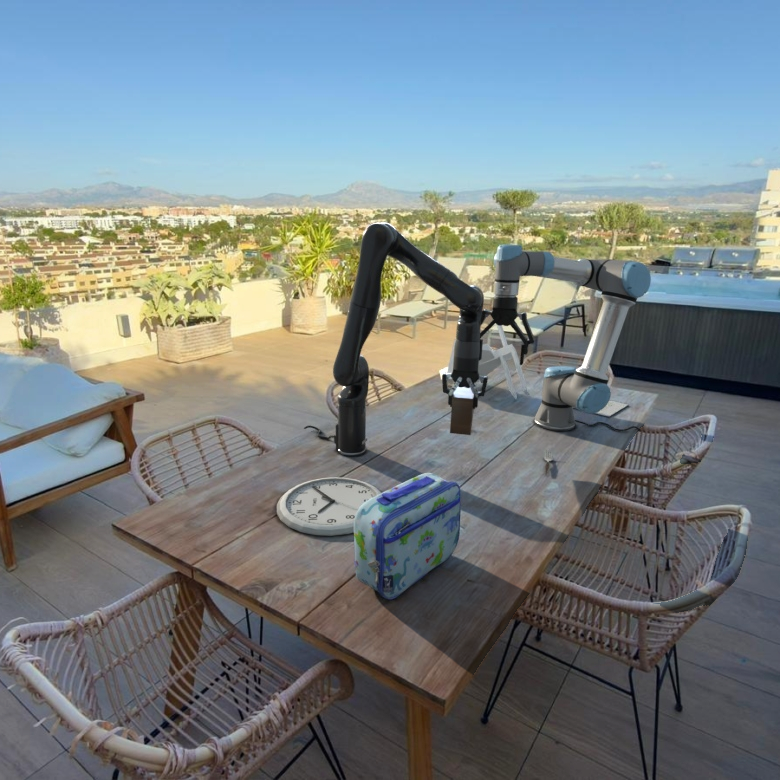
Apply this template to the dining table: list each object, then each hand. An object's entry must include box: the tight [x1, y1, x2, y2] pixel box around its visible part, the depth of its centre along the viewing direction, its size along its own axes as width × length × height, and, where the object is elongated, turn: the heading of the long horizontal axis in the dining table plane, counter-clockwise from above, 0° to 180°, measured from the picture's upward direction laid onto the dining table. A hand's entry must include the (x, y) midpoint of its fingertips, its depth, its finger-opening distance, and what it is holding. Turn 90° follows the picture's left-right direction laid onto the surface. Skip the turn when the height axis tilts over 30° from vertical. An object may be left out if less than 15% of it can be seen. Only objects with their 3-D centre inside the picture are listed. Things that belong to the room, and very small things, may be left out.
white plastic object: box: [438, 323, 531, 400], centre depth 245 cm, size 37×45×31 cm
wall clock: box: [276, 476, 383, 537], centre depth 142 cm, size 30×2×30 cm
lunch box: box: [353, 472, 462, 600], centre depth 112 cm, size 26×11×21 cm, turn 134°
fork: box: [544, 449, 554, 474], centre depth 169 cm, size 3×16×2 cm, turn 160°
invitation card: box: [575, 400, 629, 418], centre depth 226 cm, size 21×1×15 cm
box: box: [449, 383, 477, 436], centre depth 170 cm, size 28×6×12 cm, turn 169°
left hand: (462, 407), depth 161 cm, fingers closed on box, 6 cm apart
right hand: (500, 361), depth 170 cm, fingers open, 13 cm apart
